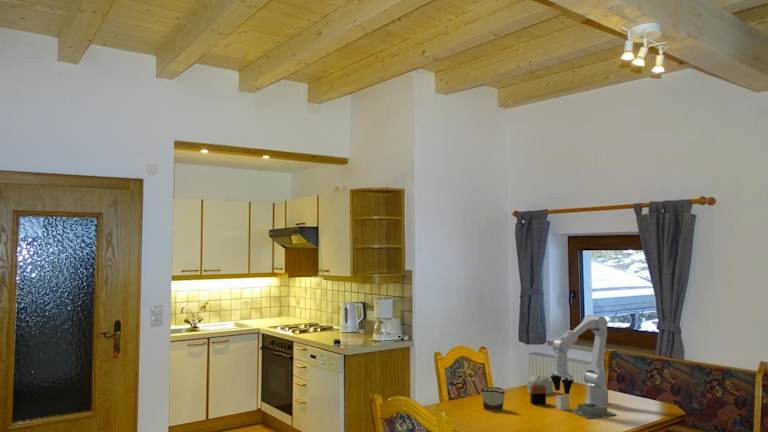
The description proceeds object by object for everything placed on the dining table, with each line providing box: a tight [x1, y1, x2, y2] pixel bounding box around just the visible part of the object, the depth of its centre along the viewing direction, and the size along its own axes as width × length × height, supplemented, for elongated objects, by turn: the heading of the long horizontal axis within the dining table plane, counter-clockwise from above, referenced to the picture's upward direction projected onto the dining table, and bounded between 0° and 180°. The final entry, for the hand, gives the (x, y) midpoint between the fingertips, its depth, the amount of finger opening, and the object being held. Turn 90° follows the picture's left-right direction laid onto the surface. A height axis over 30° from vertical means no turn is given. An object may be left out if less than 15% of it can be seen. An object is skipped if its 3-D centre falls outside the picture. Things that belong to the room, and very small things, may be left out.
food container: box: [480, 386, 506, 412], centre depth 286 cm, size 12×6×10 cm, turn 65°
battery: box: [529, 383, 547, 406], centre depth 294 cm, size 4×7×10 cm, turn 93°
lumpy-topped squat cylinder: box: [526, 374, 554, 396], centre depth 318 cm, size 10×13×9 cm
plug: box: [555, 394, 571, 411], centre depth 285 cm, size 5×4×6 cm
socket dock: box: [568, 402, 617, 420], centre depth 276 cm, size 16×14×4 cm
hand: (562, 392), depth 285 cm, fingers open, 7 cm apart
